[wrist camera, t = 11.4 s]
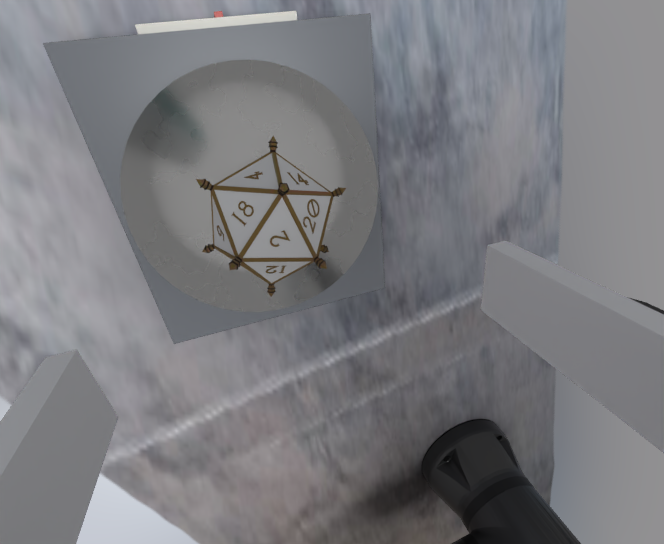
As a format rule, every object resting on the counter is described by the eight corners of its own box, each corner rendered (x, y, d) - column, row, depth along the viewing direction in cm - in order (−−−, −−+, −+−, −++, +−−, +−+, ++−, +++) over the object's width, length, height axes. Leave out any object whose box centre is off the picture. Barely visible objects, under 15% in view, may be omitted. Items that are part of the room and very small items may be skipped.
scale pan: (375, 273, 32) (383, 282, 30) (178, 323, 29) (175, 336, 27) (359, 49, 24) (370, 44, 22) (77, 80, 20) (64, 78, 18)
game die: (250, 169, 27) (263, 73, 17) (338, 231, 28) (394, 171, 18) (176, 259, 24) (144, 199, 14) (278, 324, 25) (310, 309, 15)
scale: (369, 271, 37) (385, 288, 33) (178, 319, 33) (174, 343, 29) (349, 11, 26) (369, -4, 23) (63, 36, 22) (34, 23, 19)
